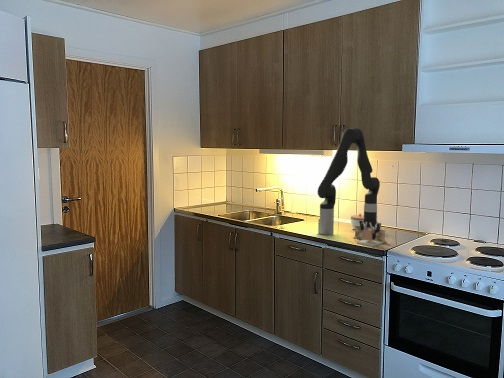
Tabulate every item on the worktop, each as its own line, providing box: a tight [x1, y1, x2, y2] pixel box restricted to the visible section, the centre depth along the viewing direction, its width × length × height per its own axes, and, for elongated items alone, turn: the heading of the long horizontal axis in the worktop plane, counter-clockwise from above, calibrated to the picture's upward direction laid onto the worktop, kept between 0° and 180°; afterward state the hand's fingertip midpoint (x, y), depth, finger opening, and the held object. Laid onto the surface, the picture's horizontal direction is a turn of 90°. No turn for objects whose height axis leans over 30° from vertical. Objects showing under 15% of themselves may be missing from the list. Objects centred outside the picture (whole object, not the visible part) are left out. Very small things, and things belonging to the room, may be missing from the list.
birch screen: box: [353, 225, 387, 244], centre depth 267 cm, size 20×5×8 cm, turn 44°
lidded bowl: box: [350, 213, 365, 230], centre depth 299 cm, size 13×13×11 cm
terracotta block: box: [364, 229, 375, 241], centre depth 258 cm, size 5×5×6 cm
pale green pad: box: [356, 239, 383, 247], centre depth 258 cm, size 11×10×1 cm
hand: (369, 238), depth 258 cm, fingers closed on terracotta block, 4 cm apart
